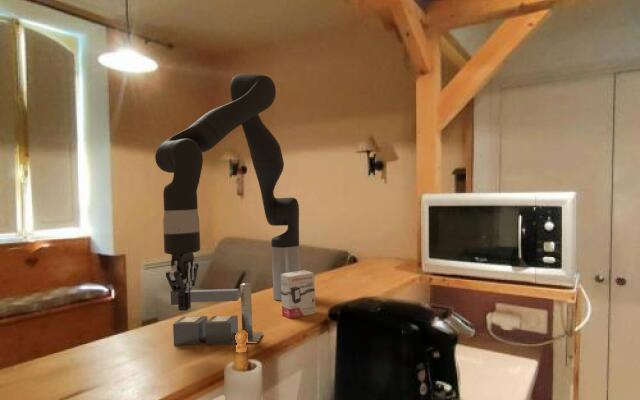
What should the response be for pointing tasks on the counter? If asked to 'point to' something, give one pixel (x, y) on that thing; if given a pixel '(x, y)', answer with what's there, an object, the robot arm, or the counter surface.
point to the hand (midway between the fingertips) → (184, 309)
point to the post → (247, 314)
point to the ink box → (298, 294)
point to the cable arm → (209, 295)
